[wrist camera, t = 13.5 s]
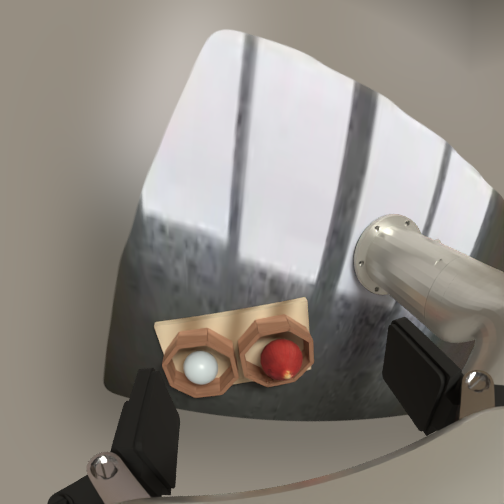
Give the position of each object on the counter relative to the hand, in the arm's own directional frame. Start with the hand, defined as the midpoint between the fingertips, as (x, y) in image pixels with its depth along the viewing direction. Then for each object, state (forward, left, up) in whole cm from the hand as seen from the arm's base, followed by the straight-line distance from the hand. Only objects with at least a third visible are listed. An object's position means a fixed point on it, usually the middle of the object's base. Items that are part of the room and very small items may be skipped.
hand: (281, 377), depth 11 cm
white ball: (+8, +19, -27) cm, 34 cm away
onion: (-3, +19, -27) cm, 33 cm away
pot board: (+3, +19, -28) cm, 34 cm away
